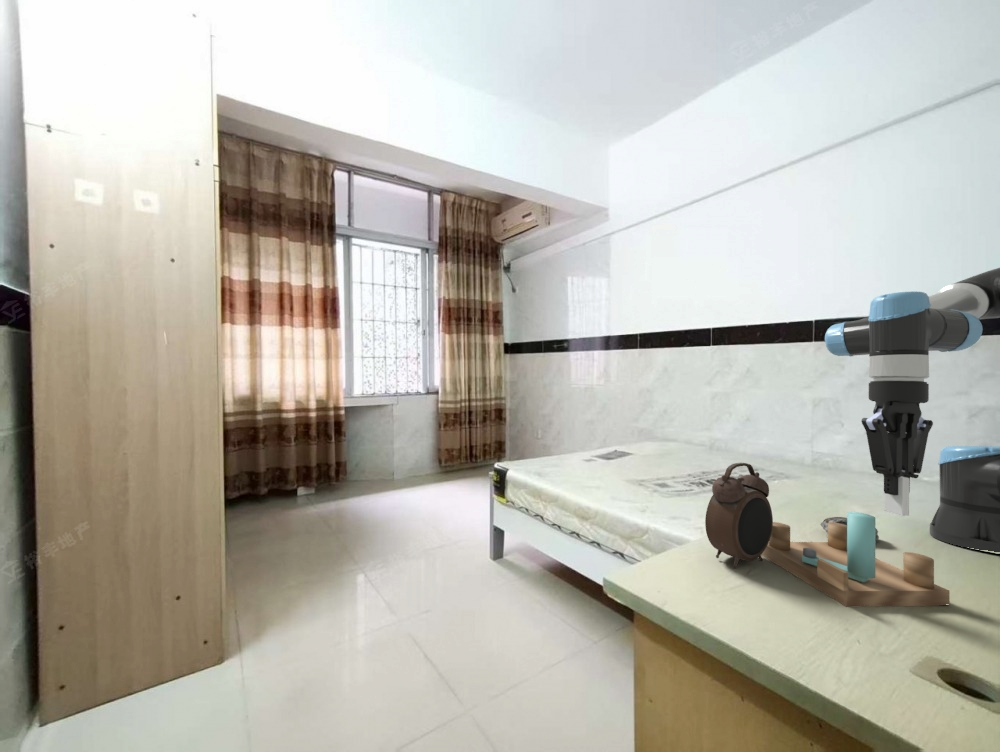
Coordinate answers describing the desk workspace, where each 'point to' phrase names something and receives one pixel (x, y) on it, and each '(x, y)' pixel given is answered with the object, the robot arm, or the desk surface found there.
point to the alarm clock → (739, 515)
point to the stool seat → (880, 591)
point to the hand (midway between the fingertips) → (896, 513)
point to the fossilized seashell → (841, 521)
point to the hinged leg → (854, 548)
